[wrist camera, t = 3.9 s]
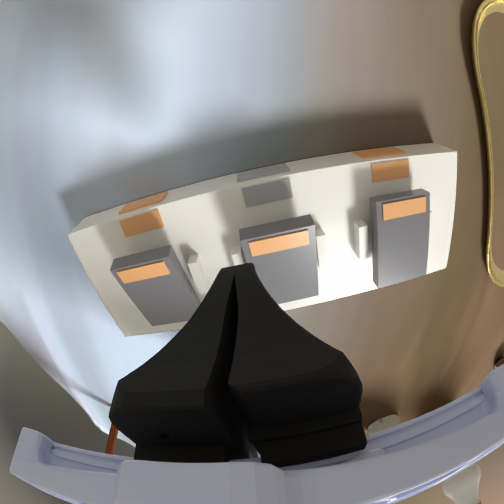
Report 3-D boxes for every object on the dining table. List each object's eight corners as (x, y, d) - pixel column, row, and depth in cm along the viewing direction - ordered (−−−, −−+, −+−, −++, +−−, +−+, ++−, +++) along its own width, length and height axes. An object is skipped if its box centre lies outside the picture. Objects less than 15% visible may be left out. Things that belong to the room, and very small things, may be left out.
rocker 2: (315, 284, 19) (319, 296, 19) (258, 296, 20) (260, 308, 19) (310, 214, 15) (315, 226, 15) (238, 229, 16) (240, 241, 15)
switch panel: (428, 250, 23) (452, 274, 19) (133, 313, 24) (121, 345, 21) (433, 141, 18) (465, 153, 14) (84, 215, 19) (59, 239, 16)
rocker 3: (419, 267, 18) (426, 275, 17) (372, 280, 19) (378, 289, 18) (421, 188, 16) (430, 192, 15) (369, 197, 16) (376, 202, 15)
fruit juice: (415, 431, 49) (444, 523, 25) (425, 415, 44) (461, 519, 20) (446, 417, 48) (478, 503, 24) (459, 399, 44) (498, 495, 19)
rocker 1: (203, 306, 20) (203, 319, 19) (153, 315, 20) (152, 327, 19) (170, 244, 16) (168, 257, 15) (113, 258, 16) (109, 271, 15)
